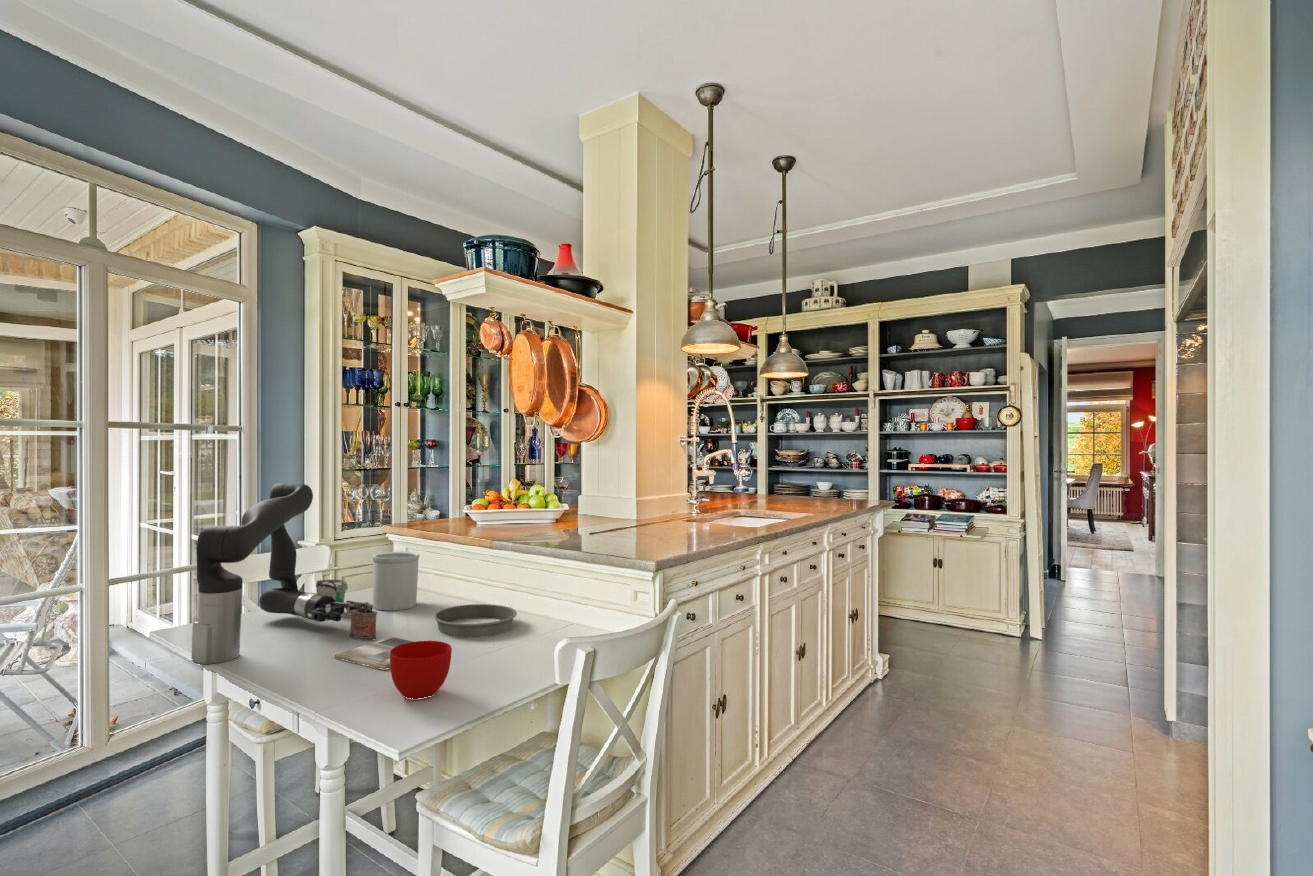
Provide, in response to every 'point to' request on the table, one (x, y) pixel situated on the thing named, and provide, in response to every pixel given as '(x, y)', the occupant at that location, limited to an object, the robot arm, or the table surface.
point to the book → (373, 653)
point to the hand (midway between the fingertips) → (353, 614)
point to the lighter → (363, 621)
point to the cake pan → (474, 611)
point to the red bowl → (420, 667)
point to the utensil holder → (395, 580)
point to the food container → (332, 589)
